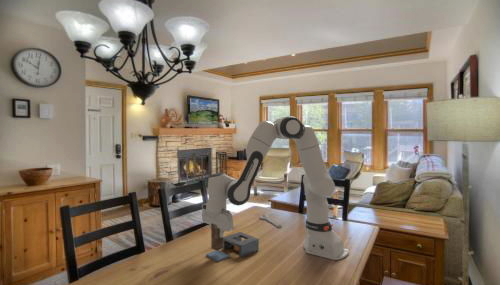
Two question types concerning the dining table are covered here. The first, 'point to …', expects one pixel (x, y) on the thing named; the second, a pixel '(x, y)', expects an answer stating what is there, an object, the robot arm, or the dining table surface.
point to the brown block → (216, 238)
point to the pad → (217, 255)
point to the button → (236, 248)
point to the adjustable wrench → (266, 217)
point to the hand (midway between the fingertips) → (217, 235)
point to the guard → (241, 243)
